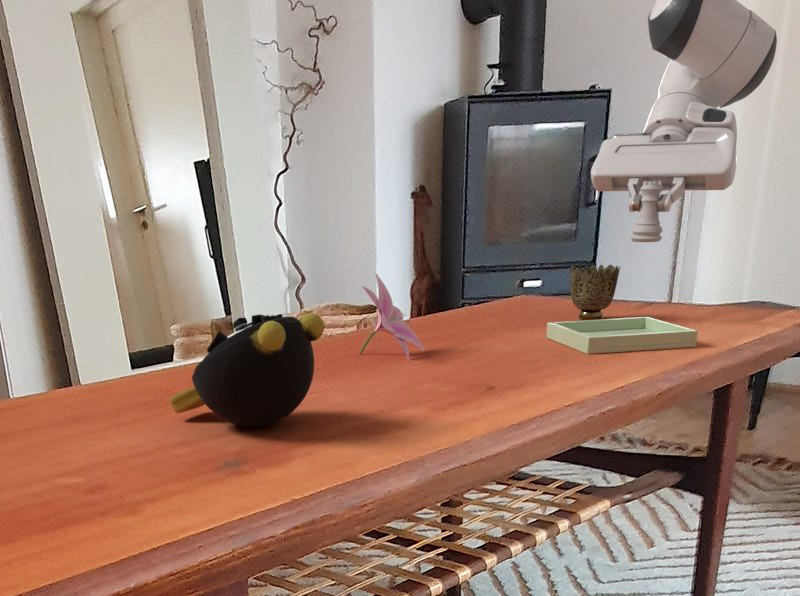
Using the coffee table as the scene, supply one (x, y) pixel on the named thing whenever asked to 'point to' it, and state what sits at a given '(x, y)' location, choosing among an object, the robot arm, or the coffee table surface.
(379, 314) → the lily
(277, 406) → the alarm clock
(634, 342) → the game tray
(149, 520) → the coffee table surface
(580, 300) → the cup
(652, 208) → the rook chess piece
